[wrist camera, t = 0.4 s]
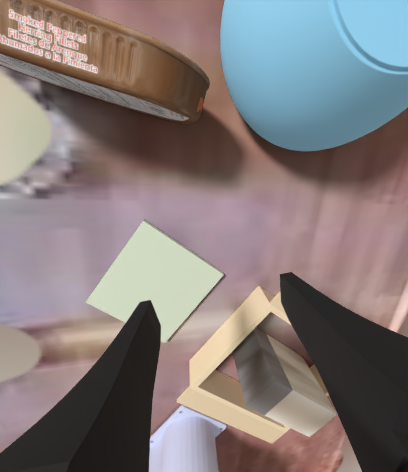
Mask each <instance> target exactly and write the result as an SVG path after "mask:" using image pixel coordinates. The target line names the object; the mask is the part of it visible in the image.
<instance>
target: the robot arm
mask: <svg viewBox="0 0 408 472" xmlns="http://www.w3.org/2000/svg"><path fill="white" fill-rule="evenodd" d="M280 288H281V304H282V306H283V308H284V311H285V313H286V315H287V317H288V320H289V321H290V323H291V325H292V327H293V328H294V330H295V332H296V333H297V335H298V337H299V339H300V340H301V342H302V344H303V345H304V347H305V349H306V350H307V352H308V354H309V356H310V357H311V359H312V361H313V363H314V364H315V366H316V368H317V370H318V372H319V374H320V377H321V379H322V381H323V383H324V385H325V387H326V389H327V391H328V394H329V396H330V398H331V400H332V402H333V404H334V407H335V409H336V411H337V413H338V416H339V418H340V420H341V422H342V425H343V427H344V429H345V432H346V434H347V436H348V439H349V441H350V443H351V446H352V448H353V450H354V453H355V455H356V457H357V460H358V463H359V465H360V467H361V470H362V472H408V338H407V337H405V336H403V335H400V334H398V333H396V332H394V331H391V330H389V329H387V328H384V327H382V326H380V325H378V324H376V323H374V322H372V321H369V320H368V319H366V318H364V317H362V316H360V315H358V314H356V313H354V312H352V311H350V310H348V309H347V308H345V307H343V306H341V305H340V304H338V303H336V302H335V301H333V300H331V299H330V298H328V297H327V296H325V295H324V294H322V293H321V292H319V291H317V290H316V289H315V288H313V287H312V286H310V285H309V284H307V283H306V282H304V281H303V280H302V279H300V278H299V277H297V276H296V275H295V274H293V273H292V272H290V273H285V274H280ZM160 341H161V324H160V322H159V319H158V317H157V314H156V312H155V309H154V307H153V304H152V302H151V300H147V301H142V302H140V303H139V304H138V305H137V307H136V308H135V310H134V311H133V313H132V314H131V316H130V317H129V319H128V320H127V322H126V323H125V325H124V326H123V328H122V329H121V331H120V332H119V334H118V335H117V336H116V338H115V339H114V341H113V342H112V343H111V344H110V346H109V347H108V348H107V350H106V351H105V352H104V354H103V355H102V356H101V357H100V359H99V360H98V361H97V362H96V363H95V365H94V366H93V367H92V368H91V369H90V370H89V371H88V373H87V374H86V375H85V376H84V377H83V378H82V379H81V380H80V381H79V382H78V383H77V384H76V385H75V386H74V387H73V388H72V389H71V391H70V392H69V393H68V394H67V395H66V396H65V397H64V398H63V399H62V400H61V401H60V402H58V403H57V404H56V405H55V406H54V407H53V408H52V409H51V410H50V411H49V412H48V413H47V414H46V415H45V416H43V417H42V418H41V419H40V420H39V421H38V422H37V423H36V424H35V425H33V426H32V427H31V428H30V429H29V430H28V431H26V432H25V433H24V434H23V435H22V436H20V437H19V438H18V439H17V440H16V441H15V442H13V443H12V444H11V445H10V446H9V447H7V448H6V449H5V450H4V451H2V452H1V453H0V472H219V470H218V461H217V452H216V443H215V438H216V437H217V436H218V435H219V434H220V433H221V432H222V431H223V430H224V429H225V428H226V427H227V425H226V423H224V422H221V421H219V420H217V419H214V418H212V417H210V416H208V415H205V414H203V413H201V412H198V411H196V410H194V409H191V408H189V407H187V406H185V405H181V406H180V407H179V408H178V409H177V410H176V411H175V412H174V413H173V414H172V415H171V416H170V418H169V419H168V420H167V421H166V422H165V423H164V424H163V425H162V426H161V427H160V428H159V429H158V430H157V431H156V432H155V433H154V434H153V435H152V436H151V437H150V430H151V413H152V398H153V390H154V383H155V377H156V370H157V364H158V357H159V350H160ZM149 453H150V454H149Z"/></svg>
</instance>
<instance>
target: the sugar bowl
mask: <svg viewBox="0 0 408 472" xmlns="http://www.w3.org/2000/svg"><path fill="white" fill-rule="evenodd" d="M220 49H221V59H222V67H223V72H224V76H225V80H226V84H227V87H228V90H229V93H230V95H231V98H232V100H233V102H234V104H235V106H236V108H237V110H238V111H239V113H240V114H241V116H242V117H243V119H244V120H245V121H246V122H247V124H248V125H249V126H250V127H251V128H252V129H253V130H254V131H255V132H256V133H257V134H259V135H260V136H261V137H262V138H264V139H265V140H267V141H269V142H270V143H272V144H274V145H277V146H279V147H281V148H285V149H289V150H294V151H318V150H323V149H329V148H334V147H337V146H340V145H343V144H346V143H349V142H351V141H354V140H356V139H358V138H360V137H362V136H364V135H366V134H368V133H370V132H372V131H374V130H376V129H378V128H379V127H381V126H382V125H384V124H386V123H387V122H389V121H390V120H391V119H393V118H394V117H396V116H397V115H399V114H400V113H401V112H403V111H404V110H405V109H406V108H408V0H225V2H224V7H223V12H222V20H221V31H220Z"/></svg>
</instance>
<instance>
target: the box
mask: <svg viewBox="0 0 408 472" xmlns="http://www.w3.org/2000/svg"><path fill="white" fill-rule="evenodd" d="M232 352H233V356H234V360H235V364H236V368H237V372H238V376H239V380H240V384H241V388H242V391H243V395H244V399H245V403H246V407H248V408H250V409H252V410H254V411H256V412H258V413H260V414H262V415H264V416H267V417H269V418H271V419H273V420H275V421H277V422H279V423H281V424H283V425H285V426H287V427H290V428H292V429H294V430H296V431H298V432H300V433H302V434H304V435H306V436H308V437H310V436H311V435H312V434H314V433H315V432H316V431H317V430H319V429H320V428H321V427H322V426H324V425H325V424H326V423H327V422H329V421H330V420H331V419H332V418H333V417H335V416H336V415H337V413H336V411H335V410H334V408H333V406H332V405H331V403H330V401H329V400H328V398H327V396H326V395H325V393H324V392H323V390H322V388H321V387H320V385H319V383H318V382H317V380H316V378H315V377H314V375H313V374H312V372H311V370H310V369H309V367H308V365H307V364H306V362H305V360H304V359H303V357H302V356H301V355H300V354H298V353H296V352H295V351H293V350H292V349H290V348H288V347H287V346H285V345H283V344H282V343H280V342H279V341H277V340H275V339H274V338H272V337H270V336H269V335H267V334H266V333H264V332H262V331H261V330H259V329H258V328H256V327H255V328H254V329H253V330H252V332H251V333H250V334H249V335H248V336H247V337H246V338H245V339H244V340H243V341H242V342H241V343H240V344H239V345H238V346H237V347H236V348H235V349H234V350H233V351H232Z"/></svg>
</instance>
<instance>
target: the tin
mask: <svg viewBox="0 0 408 472" xmlns="http://www.w3.org/2000/svg"><path fill="white" fill-rule="evenodd" d="M0 66H3V67H6V68H8V69H11V70H14V71H16V72H19V73H22V74H25V75H27V76H30V77H33V78H36V79H38V80H41V81H44V82H47V83H51V84H53V85H56V86H59V87H62V88H66V89H69V90H72V91H75V92H78V93H81V94H84V95H87V96H90V97H93V98H96V99H99V100H102V101H105V102H108V103H111V104H115V105H118V106H121V107H124V108H128V109H131V110H134V111H138V112H141V113H144V114H148V115H151V116H155V117H158V118H162V119H165V120H169V121H173V122H178V123H184V124H191V123H193V122H195V121H197V120H199V118H200V115H201V112H202V108H203V103H204V99H205V95H206V91H207V90H208V88H209V85H210V82H209V78H208V77H207V75H206V74H205V73H204V72H203V70H202V69H201V68H200V67H199V66H198V65H197V64H196V63H194V62H193V61H192V60H190V59H189V58H187V57H186V56H184V55H183V54H181V53H180V52H178V51H176V50H175V49H173V48H171V47H170V46H168V45H166V44H164V43H162V42H161V41H158V40H156V39H155V38H152V37H150V36H148V35H146V34H143V33H141V32H139V31H136V30H134V29H131V28H129V27H126V26H123V25H121V24H118V23H115V22H113V21H110V20H107V19H105V18H102V17H99V16H96V15H94V14H91V13H89V12H86V11H84V10H81V9H79V8H76V7H73V6H70V5H68V4H65V3H62V2H59V1H57V0H0Z"/></svg>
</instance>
